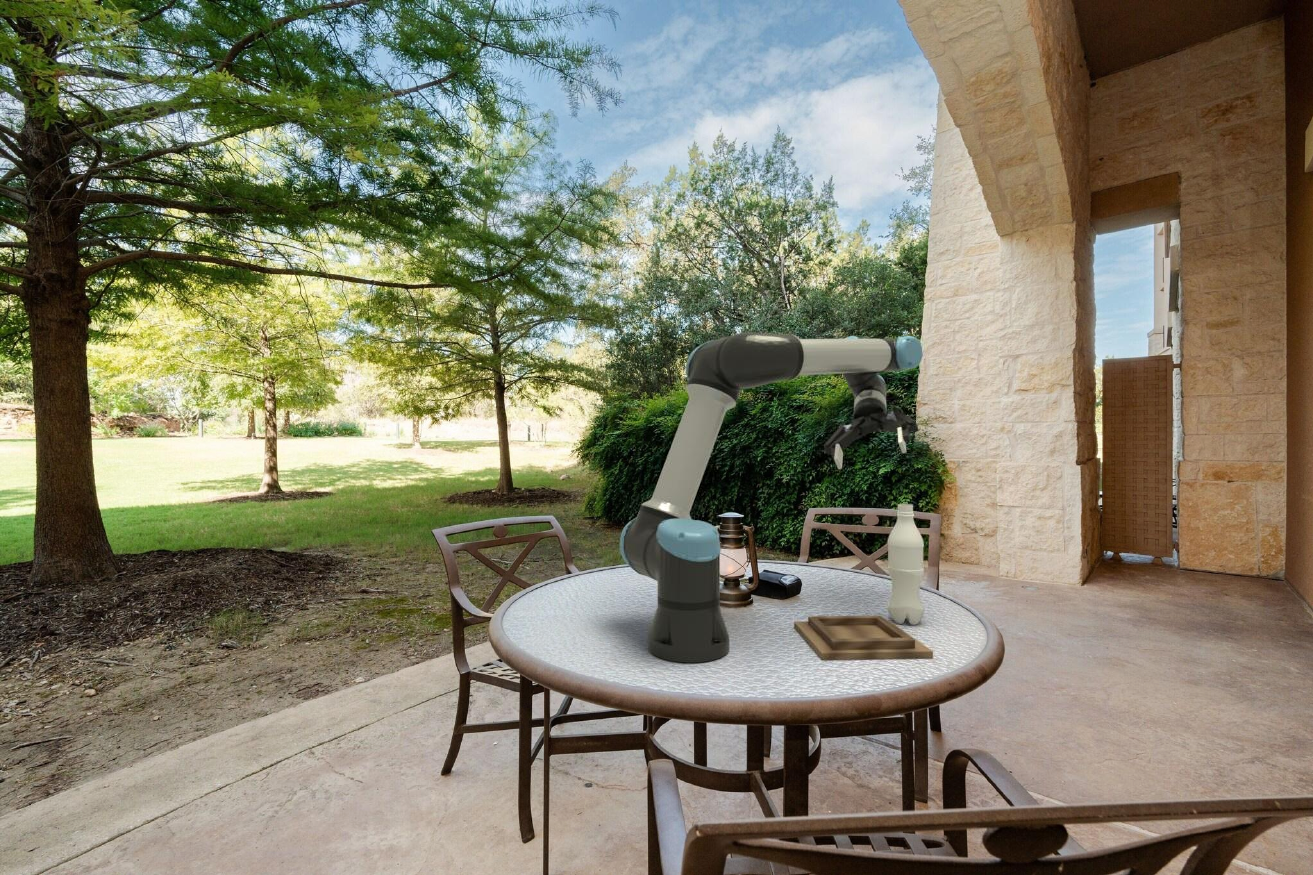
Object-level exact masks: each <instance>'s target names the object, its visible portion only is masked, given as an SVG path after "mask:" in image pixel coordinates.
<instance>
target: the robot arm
mask: <svg viewBox="0 0 1313 875" xmlns="http://www.w3.org/2000/svg"><path fill="white" fill-rule="evenodd" d="M923 356H924V355H923V346H922V343H921V342H920V340H919V339H918V338H917V337H915V336H913V335H912V336H911V335H908V336H904V335H903V336H899V337H894V338H859V337H858V336H856V335H850V336H847V337H845V338H799V337H798V336H796V335H795V334H794V333H793V334H792V333H769V332H753V331H752V332H740V333H736V334H733V335H729V336H726V337H722V338H718V339H712V340H708V341H705V342H704V343H702V344H701V345H699V346H697V347H696V348H694V350H692V352H691V353H690V354H689V356H688V357H687V361H686V365H685V375H686V377H687V378H686V380H687V384H686V386H685V391H686V393H687V395H688V401H687V404H686V406H685V409H684V412H683V414H682V417H681V419H680V421H679V424H678V427H677V430H676V432H675V435H674V438H673V441H672V443H671V447H670V449H669V451H668V454H667V456H666V459H665V462H664V464H663V468H662V470H661V472H660V475H659V478H658V480H657V484H656V486H655V488H654V491H653V494H652V497H651V498H650V499H649V500H647V501H645V502H643V503H641V505H640V507H639V510H638V513H637V516H636V517H635V518H633V519H632V520H630V521H629V522H628V523H626V525H624V527H623V529H622V531H621V533H620V538H619V552H620V555H621V556H622V557H621V558H623V561H624V562H625V564H626V565H627V566H628V567H629V568H630V569H632V570H633V571H634V572H635V573H637V574H639V575H642V576H644V577H648V578H650V579H652V580H654V581H656V582H657V607H656V611H655V613H654V617H653V619H652V624H651V626H650V630H649V633H648V638H647V641H648V642H647V643H648V646H647V647H648V651H649V652H650V653H651V654H652V655H654V656H655V657H658V658H660V659H663V660H665V661H672V662H676V663H677V662H678V663H702V662H710V661H715V660H717V659H720V658H723V657H725V655H727V654H729V651H730V635H729V632H728V630H727V626H726V623H725V620H724V617H723V613H722V610H721V604H720V603H721V602H720V600H721V599H720V593H721V592H720V591H721V590H720V586H721V584H720V582H721V581H720V579H721V577H720V576H721V573H720V572H721V571H720V569H721V567H720V566H721V565H720V564H721V563H720V562H721V561H720V560H721V559H720V558H721V556H720V555H721V554H720V553H721V549H722V548H721V543H720V542H721V541H720V534H719V531H718V529H717V528H716V527H715V526H714V525H712V524H710V523H709V522H707V521H704V520H703V521H702V520H698V519H697V520H695V519H693V518H692V516H691V515H690V512H691V510H692V506H693V504H694V501H695V498H696V496H697V492H698V490H699V487H700V484H701V482H702V480H703V476H704V474H705V471H706V469H707V465H708V463H709V460H710V457H711V455H712V452H713V449H714V445H715V443H716V442H717V441H716V440H717V438H718V434H719V432H720V430H721V426H722V424H723V421H724V418H725V416H726V413H727V411H729V410H730V409H733V408H735V407H736V405H737V403H738V400H739V397H740V395H741V392H742V390H747V389H752V388H757V387H760V386H765V385H769V384H773V383H778V382H785V381H787V382H788V381H789V382H791V381H794V380H796V379H797V378H798V377H799V376H812V375H833V374H842V377H843V378H844V379H845V382H846V383H847V385H848V388H849V390H850V391H851V393H852V395H853V397H854V403H853V404H854V405H853V418H852V419H853V421H852V422H851V423H850V424H845V423H844V422H842V423H840V424H839V427H838V428H837V429H836V431H835V432H834V433H833V434H832V435H831V436H830V438H829V439H828V440H827V441H826V442H825V443H824V444H823V447H824V450H825V452H826V454H827V455H829V456H830V455H831V457H832V459H833V460H834V463H835V465H836V467H837V469H838V470H842V469H843V459H844V458H843V457H844V452H843V451H844V450H845V449H846V448H847V447H849V446H850V445H851V444H853V442H855V441H856V440H860V439H861V438H862V437H864V436H865V435H868V434H870V433H876V432H879V431H880V432H884V433H886V432H890V433H893V434H897V442H898V445H899V448H900V451H901V454H907V447H906V446H907V445H906V444H907V442H909V441H910V440H911V433H918V432H919V427H918V424H917V422H916V420H915V418H914V419H913V418H911V417H910V416H908V415H906V414H905V413H902V412H901V411H900V409H899V408H898V407H896V408H893V409H892V411H891V412H890V413H888V410H887V384H886V382H885V380H884V378H883V377H882V376H881V375H880V374H883V373H889V372H890V373H891V372H900V371H901V372H902V371H907V370H912V369H915V368H917V367H918V366H919V365H920V364H921V363H922V359H923Z"/></svg>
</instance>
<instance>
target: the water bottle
mask: <svg viewBox="0 0 1313 875" xmlns="http://www.w3.org/2000/svg"><path fill="white" fill-rule="evenodd" d="M913 509H914V504H910V503H899V504H897V513H896V516H897V519H896V522H895V524H894V526H893V528H892V529H891V531H890V533H889V535H888V538H887V545H888V546H887V550H888V551H887V553H888V554H887V557H888V558H887V559H888V560H887V564H888V565H887V571H888V573H889V576H890V580H891V595H890V597H889V601H888V603H887V610H888V615H889V616H890V618H891V619H892V620H893V621H894V622H895V623H897V624H900V625H903V624H904V623H905V620H906V619H907V621H908V623H909V624H910V625H912V626H914V625H917V624H919V623H920V622H921V620H922V619H923V617H924V615H925V614H924V613H925V608H924V605H923V603H922V600H921V595H920V587H921V583H922V581H921V580H922V579H923V576H924V574H925V568H924V547H925V545H924V538H923V536H922V535H921V533H920V531H919V529H918V527H917V526H916V523H915V520H914V517H915V514H914V510H913Z"/></svg>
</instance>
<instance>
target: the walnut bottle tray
mask: <svg viewBox="0 0 1313 875" xmlns="http://www.w3.org/2000/svg"><path fill="white" fill-rule="evenodd" d="M807 617H808V618H807V621H793V628H794V629H795V631H796V632H797V633H798V634H799V635H800V636H801V637H802V639H803V640H804V641H805V642H806V643H807V644H808V646H809V647H810V648H811V649H812V650H813V651H814V652H815V655H816V656H818V657H819V658H820V659H821V661H834V660H835V661H842V660H843V661H844V660H847V661H848V660H850V661H851V660H901V659H903V660H905V659H907V660H909V659H934V651H933V650H932V649H930V648H929V647H927V646H926V645H924V644H923V643H921V642H920V641H919V640H917V639H916V638H915V637H913V636H911V635H910V634H909V633H908V632H906V631H905V630H903V629H902V628H900V627H898V625H896V624H894V623H893V622H892V621H891V620H887V619H886V618H884V617H883V616H882V615H828V616H827V615H825V616H821V615H820V616H816V615H815V616H811V615H810V616H807Z"/></svg>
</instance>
